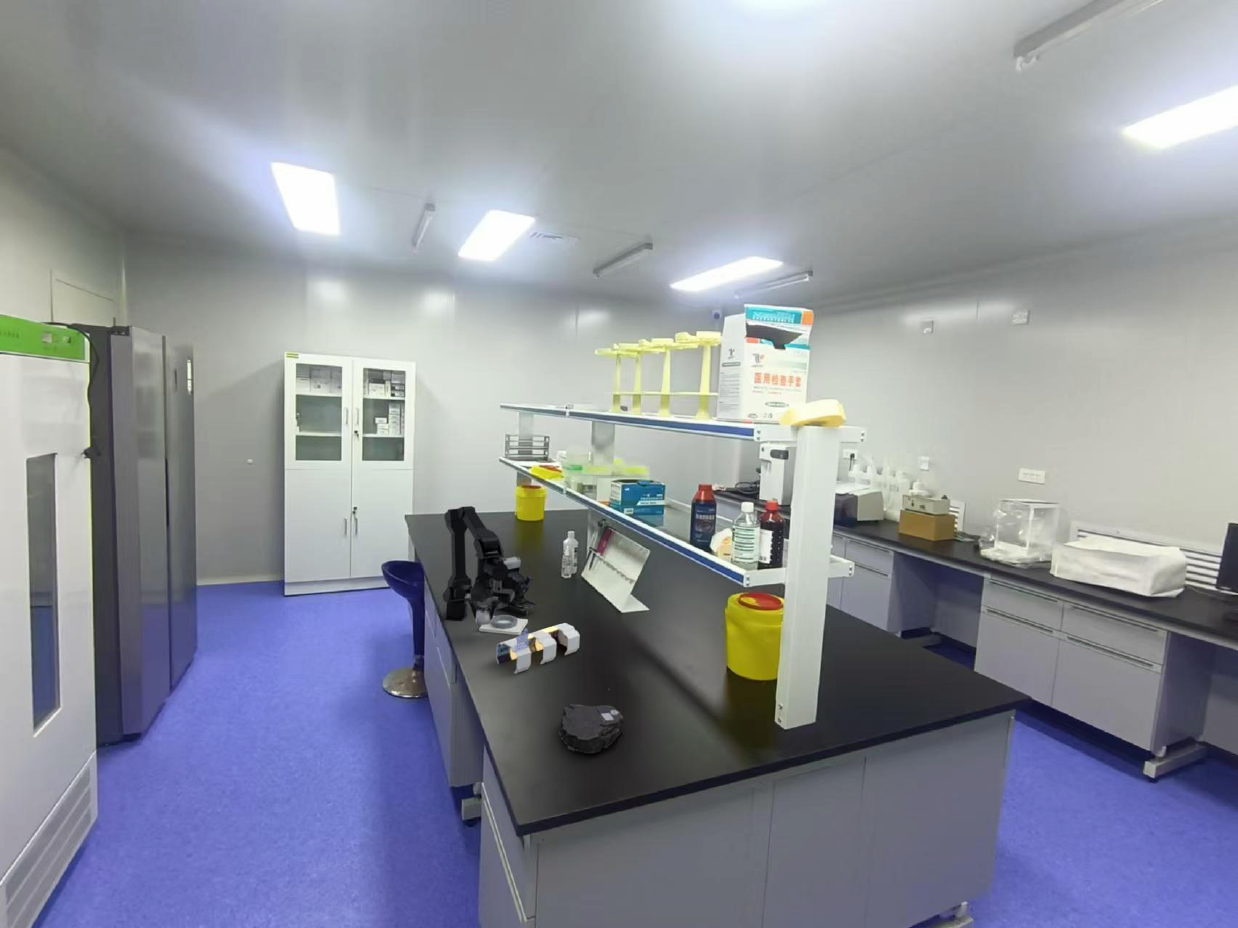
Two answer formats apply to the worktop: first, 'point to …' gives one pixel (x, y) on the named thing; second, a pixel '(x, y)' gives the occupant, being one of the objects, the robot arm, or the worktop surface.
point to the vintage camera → (515, 585)
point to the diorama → (537, 645)
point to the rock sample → (590, 726)
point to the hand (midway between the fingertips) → (483, 618)
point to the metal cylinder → (483, 614)
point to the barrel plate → (505, 631)
